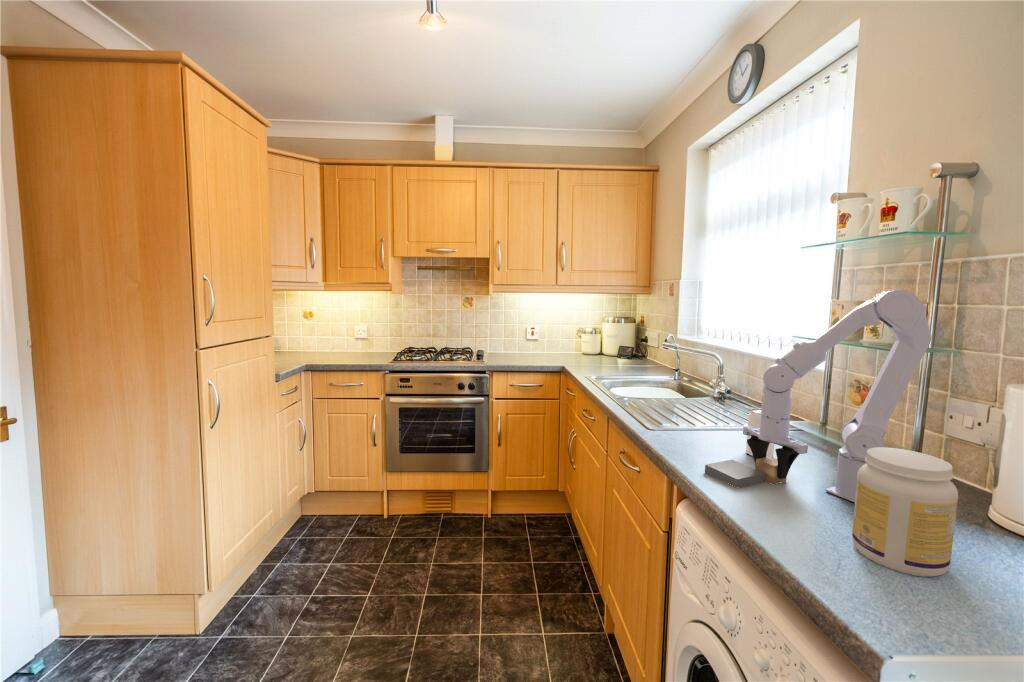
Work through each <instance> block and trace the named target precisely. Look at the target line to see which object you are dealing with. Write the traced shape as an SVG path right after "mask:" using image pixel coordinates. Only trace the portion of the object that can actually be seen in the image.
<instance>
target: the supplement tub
mask: <svg viewBox="0 0 1024 682" xmlns="http://www.w3.org/2000/svg"><path fill="white" fill-rule="evenodd" d="M865 461H866V463H867V464H865V465H863V466H862V467H860V469H859V470H858V474H857V486H856V497H855V503H854V510H853V511H854V513H853V520H852V521H853V522H852V533H851V537H852V538H851V539H852V543H853V545H854V546H855V548H856V549H857V550H858V551H859V553H861V554H862V556H864V557H866V558H867V559H869V560H871V561H872V562H874V563H876V564H878V565H881V566H883V567H885V568H888V569H891V570H894V571H896V572H899V573H902V574H907V575H912V576H915V577H916V576H917V577H928V578H929V577H938V576H942V575H945V574H946V573H947V572H948V571H949V568H950V566H951V563H952V562H951V560H952V559H951V558H952V551H953V543H954V535H955V534H954V533H955V528H956V526H955V525H956V516H957V509H958V500H959V491H958V489H957V487H956V486H955V484H954V482H952V481H951V480H953V479H954V474H953V471H954V469H953V468H954V467H953V465H952V464H951V463H950V462H948V461H946V460H945V459H944V460H943V459H941V458H939V457H937V456H933V455H931V454H926V453H923V452H918V451H914V450H909V449H903V448H897V447H896V448H895V447H887V446H884V447H876V448H870V449H868V450H867V454H866V457H865Z"/></svg>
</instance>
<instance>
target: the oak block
mask: <svg viewBox="0 0 1024 682" xmlns="http://www.w3.org/2000/svg"><path fill="white" fill-rule="evenodd" d="M755 469H756V470H759V471H761V472H764V473H766V475H765V481H766V482H765V483H768V484H770V483H771V485H772V484H774V485H776V483H778V484H781V483H780V482H782V483H786V482H787V477H786V478H783V479H779V478H778V477H777V469H778V461H777V458H775V457H770V456H769V457H764V458H759V459H756V466H755ZM785 481H786V482H785Z"/></svg>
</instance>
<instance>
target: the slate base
mask: <svg viewBox="0 0 1024 682" xmlns="http://www.w3.org/2000/svg"><path fill="white" fill-rule="evenodd" d="M704 473H705V474H706V473H707V474H706V475H708V474H709V476H711V477H712V478H715V479H717V478H718V479H717V480H719V479H720V480H719V481H721V480H722V481H721V482H723V481H724V482H723V483H725V482H726V483H725V484H727V483H729V484H728V485H730V484H731V485H730V486H732V485H733V486H732V487H734V486H735V487H734V488H736V487H739V488H742V487H743V486H744V487H747V485H748V486H752V485H756V483H757V484H761V483H766V482H765V475H766V473H764V472H761V471H759V470H756V468H755V467H751V466H749V465H746V464H744V463H742V462H739V461H737V460H734V459H729V460H723V461H717V462H713V463H707V464H705V465H704Z"/></svg>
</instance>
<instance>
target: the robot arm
mask: <svg viewBox="0 0 1024 682" xmlns="http://www.w3.org/2000/svg"><path fill="white" fill-rule="evenodd" d="M882 323H883V324H884V325H886V326H887V328H888V330H889V332H890V333H891V335H892V336H893V337H894V339H895V341H894V343H893V344H892V347H891V348H890V350H889V352H888V354H887V356H886V358H885V361H884V362H883V364H882V366H881V367H880V370H879V372H878V374H877V376H876V378H875V380H874V382H873V383H872V386H871V387H870V390H869V391H868V393H867V396H866V397H865V400H864V401H863V403H862V405H861V407H860V408H858V410H857V411H856V412H855V414H854V415H853V417H852V418H851V419H850V420H849V421H848V422H845V424H843V426H841V429H840V437H841V439H842V441H843V442H844V445H843V446H842V447H841V448H839V449H838V455H837V466H836V477H835V486H831V487H828V488H825V492H827V493H829V494H832V495H834V496H837V497H839V498H842V499H845V500H847V501H850V502H852V503H854V504H855V497H856V486H857V474H858V470H859V469H860V467H862V466H863V465H865V464H867V463H866V461H865V457H866V454H867V450H868V449H870V448H876V447H885V444H884V443H885V442H884V441H885V437H886V435H887V434H888V428H889V421H890V419H891V417H892V415H893V413H894V411H895V409H896V407H897V406H898V404H899V402H900V400H901V398H902V396H903V394H904V393H905V390H906V388H907V387H908V385H909V383H910V381H911V380H912V377H913V376H914V374H915V372H916V370H917V368H918V367H919V365H920V362H921V360H922V358H923V356H924V355H925V353H926V352H927V350H928V347H929V346H930V343H932V338H933V337H932V332H931V329H930V325H929V321H928V318H927V307H926V306H925V305H924V304H923V302H922V301H921V300H920V299H919V297H917V296H916V294H914V293H913V292H912V291H909V290H906V289H893V290H884V291H881V292H879V293H877V294H876V295H875V296H874V297H872V298H871V299H868V300H866V301H865V302H863V303H861V304H859V305H858V306H857V307H855V308H853V309H852V310H851V311H849V312H848V313H847V314H845V316H842V318H841V319H839V320H838V321H837V322H836V323H835V324H833V325H832V326H831V327H830V328H829V329H827V330H826V331H825V332H824V333H822V334H821V335H819V336H818V337H817V338H816V339H815V340H803V341H802V342H800V343H799V342H795V343H794V344H793V345H792V347H793V349H791V350H790V351H789V352H787V353H785V354H784V356H782V357H781V358H779V357H777V358H775V360H774V362H775V363H774V364H771V365H769V366H768V367H767V368H765V370H764V373H763V377H762V378H763V383H764V387H763V390H762V393H763V394H762V396H761V408H760V409H761V422H760V429H759V428H755V427H751V426H748V425H746V426H743V427H742V429H743V430H742V435H744V436H747V435H750V436H751V438H750V439H747V438H746V442H747V443H748V445H749V447H750V449H751V451H752V454H753V456H752V457H753V459H754V466H755V467H756V459H759V458H764V457H766V454H767V450H768V446H769V444H770V443H773V444H774V445H776V446H780V448H774V452H775V454H776V459H777V461H778V469H777V477H778V478H779V479H783V478H786V479H787V476H788V475H789V471H790V469H791V467H792V465H793V463H795V460H796V459H797V458H798V456H799V455H805V454H808V452H809V451H808V449H809V444H807V443H804V442H802V441H800V440H798V439H795V438H793V437H792V436H789V433H790V423H791V420H790V419H791V408H792V407H791V406H792V398H791V392H792V391H791V390H792V388H793V386H794V384H795V380H797V379H802V378H803V377H804V376H806V375H807V374H808V373H810V372H811V371H813V370H814V369H815V368H817V367H818V366H819V365H821V364H822V363H824V362H825V361H826V359H827V352H828V351H830V350H831V349H832V348H834V347H835V346H836V345H838V344H840V343H841V342H843V341H844V340H845V339H846V338H848V337H849V336H851V335H853V334H854V333H856V332H857V331H858V330H859V329H861V328H865V327H871V326H877V325H882Z"/></svg>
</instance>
